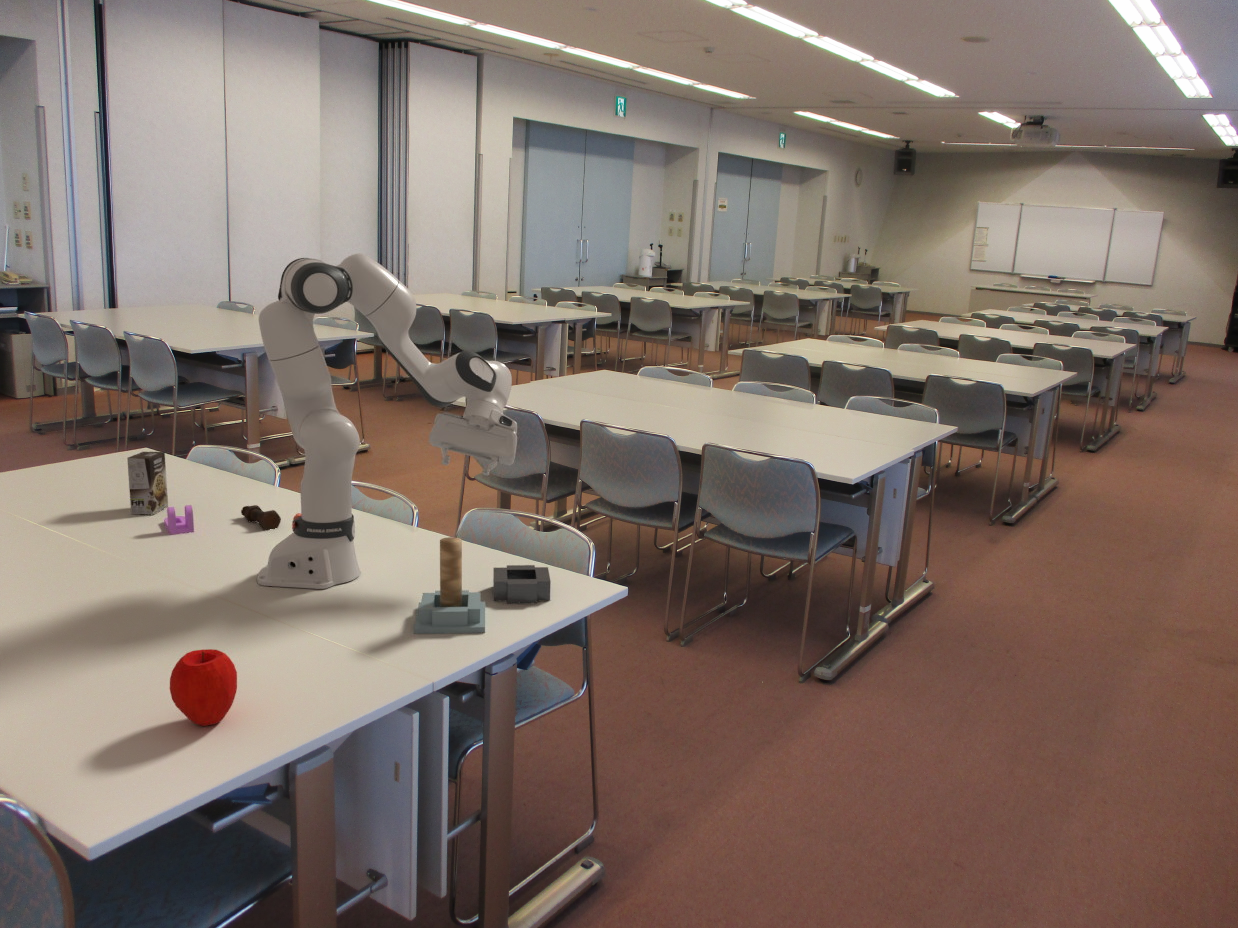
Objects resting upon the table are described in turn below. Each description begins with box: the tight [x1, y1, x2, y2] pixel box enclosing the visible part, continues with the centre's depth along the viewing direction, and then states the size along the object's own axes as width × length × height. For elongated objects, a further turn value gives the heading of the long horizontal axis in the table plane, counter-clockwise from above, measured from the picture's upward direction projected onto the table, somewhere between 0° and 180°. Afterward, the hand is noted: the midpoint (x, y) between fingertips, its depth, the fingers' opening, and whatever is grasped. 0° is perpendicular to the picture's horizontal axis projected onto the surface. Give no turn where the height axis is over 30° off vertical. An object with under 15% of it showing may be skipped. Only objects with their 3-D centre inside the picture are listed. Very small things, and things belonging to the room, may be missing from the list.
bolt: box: [240, 504, 282, 531], centre depth 256 cm, size 6×5×15 cm
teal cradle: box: [413, 589, 486, 635], centre depth 195 cm, size 14×14×4 cm
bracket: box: [163, 504, 195, 536], centre depth 250 cm, size 13×6×7 cm, turn 33°
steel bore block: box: [492, 564, 552, 605], centre depth 212 cm, size 12×12×4 cm
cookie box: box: [127, 451, 169, 516], centre depth 262 cm, size 9×6×16 cm
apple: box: [169, 648, 238, 727], centre depth 150 cm, size 10×10×12 cm
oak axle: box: [439, 536, 463, 607], centre depth 194 cm, size 4×4×16 cm
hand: (464, 468), depth 215 cm, fingers open, 8 cm apart
